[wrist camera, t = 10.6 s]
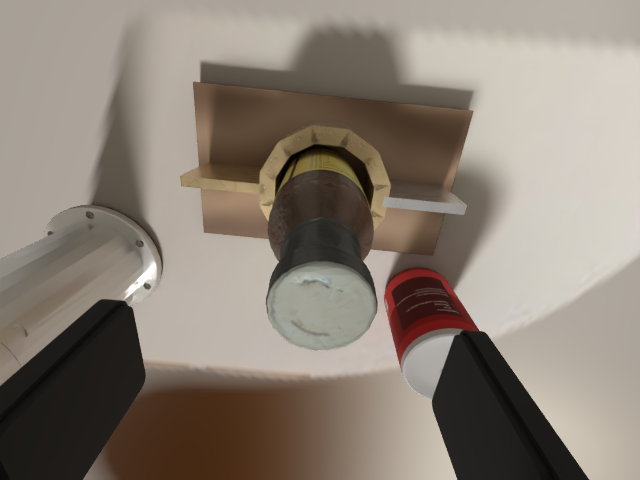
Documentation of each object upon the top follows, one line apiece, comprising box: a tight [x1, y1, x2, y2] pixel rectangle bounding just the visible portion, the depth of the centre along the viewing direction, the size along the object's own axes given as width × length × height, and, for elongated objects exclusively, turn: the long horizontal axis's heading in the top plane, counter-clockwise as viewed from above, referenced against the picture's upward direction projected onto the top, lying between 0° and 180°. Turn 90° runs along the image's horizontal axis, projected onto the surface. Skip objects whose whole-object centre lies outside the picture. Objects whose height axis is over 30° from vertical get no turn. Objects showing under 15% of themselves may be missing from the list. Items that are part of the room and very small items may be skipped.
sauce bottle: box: [266, 147, 377, 351], centre depth 20 cm, size 6×6×20 cm
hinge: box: [180, 120, 467, 230], centre depth 26 cm, size 10×22×6 cm, turn 85°
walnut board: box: [193, 82, 473, 256], centre depth 29 cm, size 14×24×2 cm, turn 85°
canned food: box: [384, 268, 479, 399], centre depth 31 cm, size 8×8×11 cm
